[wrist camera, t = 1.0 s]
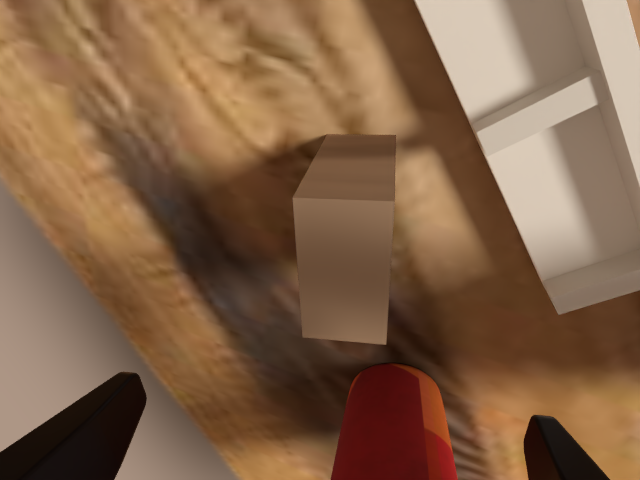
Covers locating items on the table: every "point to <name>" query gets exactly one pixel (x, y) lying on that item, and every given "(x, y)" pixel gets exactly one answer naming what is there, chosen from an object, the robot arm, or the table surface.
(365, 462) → the paper cup
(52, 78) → the table surface
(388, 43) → the table surface
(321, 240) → the tall taupe pillar block
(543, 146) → the white tray base
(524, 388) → the table surface
